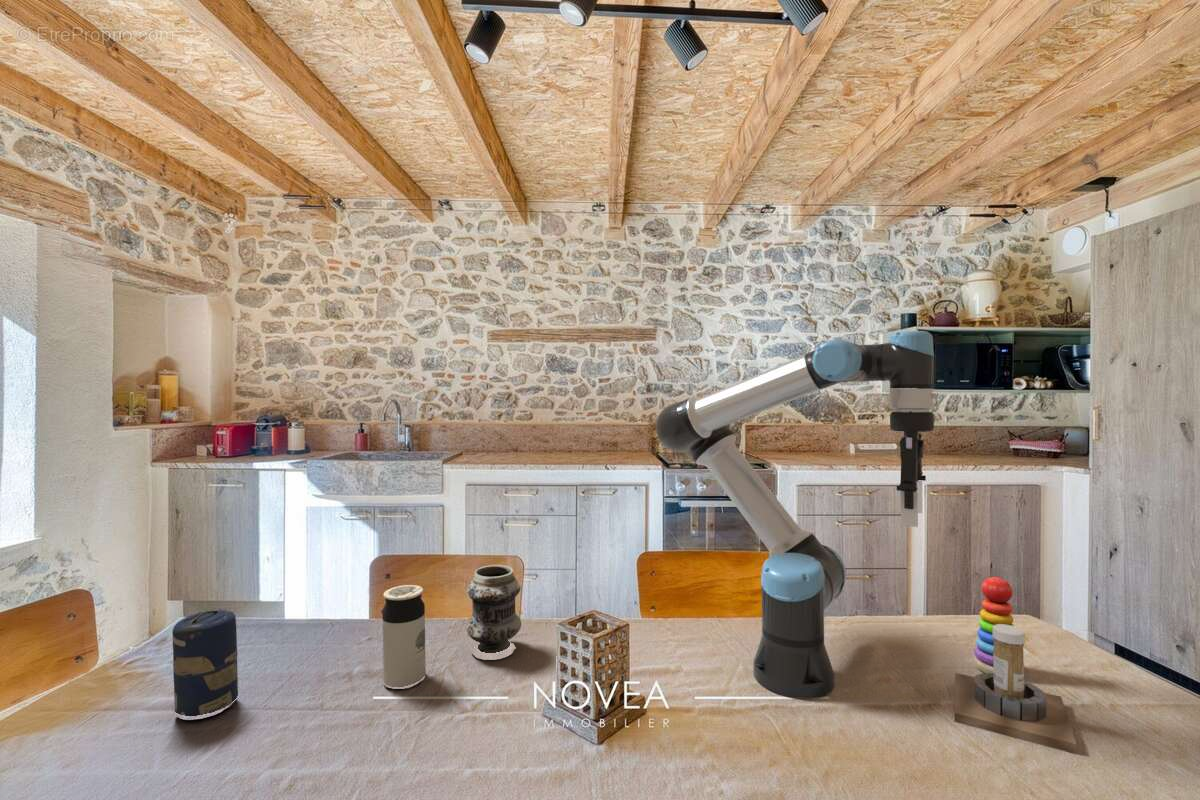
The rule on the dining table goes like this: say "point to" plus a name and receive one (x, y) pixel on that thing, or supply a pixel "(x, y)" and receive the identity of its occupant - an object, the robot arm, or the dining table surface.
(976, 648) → the stacking toy
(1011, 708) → the collar
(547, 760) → the dining table surface
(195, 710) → the canister
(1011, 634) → the sprinkles bottle
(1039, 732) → the base board
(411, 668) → the travel mug
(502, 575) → the apothecary jar
